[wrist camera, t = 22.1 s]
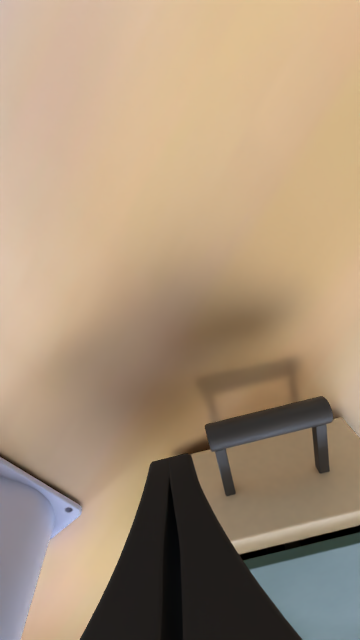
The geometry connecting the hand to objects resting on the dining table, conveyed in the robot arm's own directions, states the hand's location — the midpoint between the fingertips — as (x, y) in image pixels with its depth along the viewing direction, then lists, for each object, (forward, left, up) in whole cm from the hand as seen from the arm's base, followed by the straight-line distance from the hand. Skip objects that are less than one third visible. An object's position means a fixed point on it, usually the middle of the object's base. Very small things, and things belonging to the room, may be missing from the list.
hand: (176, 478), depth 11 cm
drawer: (+12, -2, -9) cm, 15 cm away
